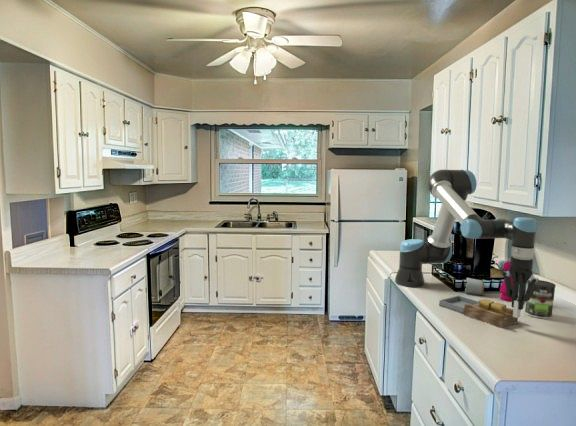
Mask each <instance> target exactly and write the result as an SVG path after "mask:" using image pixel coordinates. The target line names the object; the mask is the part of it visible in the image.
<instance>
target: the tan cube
mask: <svg viewBox="0 0 576 426" xmlns="http://www.w3.org/2000/svg"><path fill="white" fill-rule="evenodd" d="M479 300H480V302H479V301H478V302H479V308H482V309H486V310H489V311H491V304H492V303H495V301H494V300H490V299H487V298H483V299H479Z"/></svg>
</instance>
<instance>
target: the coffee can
mask: <svg viewBox="0 0 576 426" xmlns="http://www.w3.org/2000/svg"><path fill="white" fill-rule="evenodd" d="M529 283H530V279H529V280H528V281H527V284H526V289H527V288H528V286H529ZM555 290H556V284H555V283H553V282H551V281H546V280H541V279H539V281H538V282H537V283H536V284H535V287H534V290H533V292H532V295H531V298H530V300H529V301H526V302H525V301H524V302H525V303H524V305H525V306H524V314H525V315H527V316H528V317H529V316H530V317H532V318H536V319H540V320H550V319H552V318H553V309H554V300H555V292H556V291H555Z"/></svg>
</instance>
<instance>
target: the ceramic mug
mask: <svg viewBox="0 0 576 426" xmlns="http://www.w3.org/2000/svg"><path fill="white" fill-rule="evenodd" d="M466 282H467V283H466ZM465 286H466V288H465V287H464V288H465V289H464V293H465V294H471V295H478V296H481V295H483V294H484V290H485V282H484V281H483V280H481V279H476V278H470V277H466V278H465Z"/></svg>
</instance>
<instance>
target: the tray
mask: <svg viewBox="0 0 576 426" xmlns="http://www.w3.org/2000/svg"><path fill="white" fill-rule="evenodd" d="M465 304H470V305H473V306H474V305H478V304H479V300H478V301H477V300H474V299H471V298H467V297H465V296H461V295H455V296H451V297H447V298H444V299H439V303H438V306H439V307H441V308H445V309H448V310H450V311H454V312H457V313H459V314H463V315H464V309H465Z"/></svg>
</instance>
